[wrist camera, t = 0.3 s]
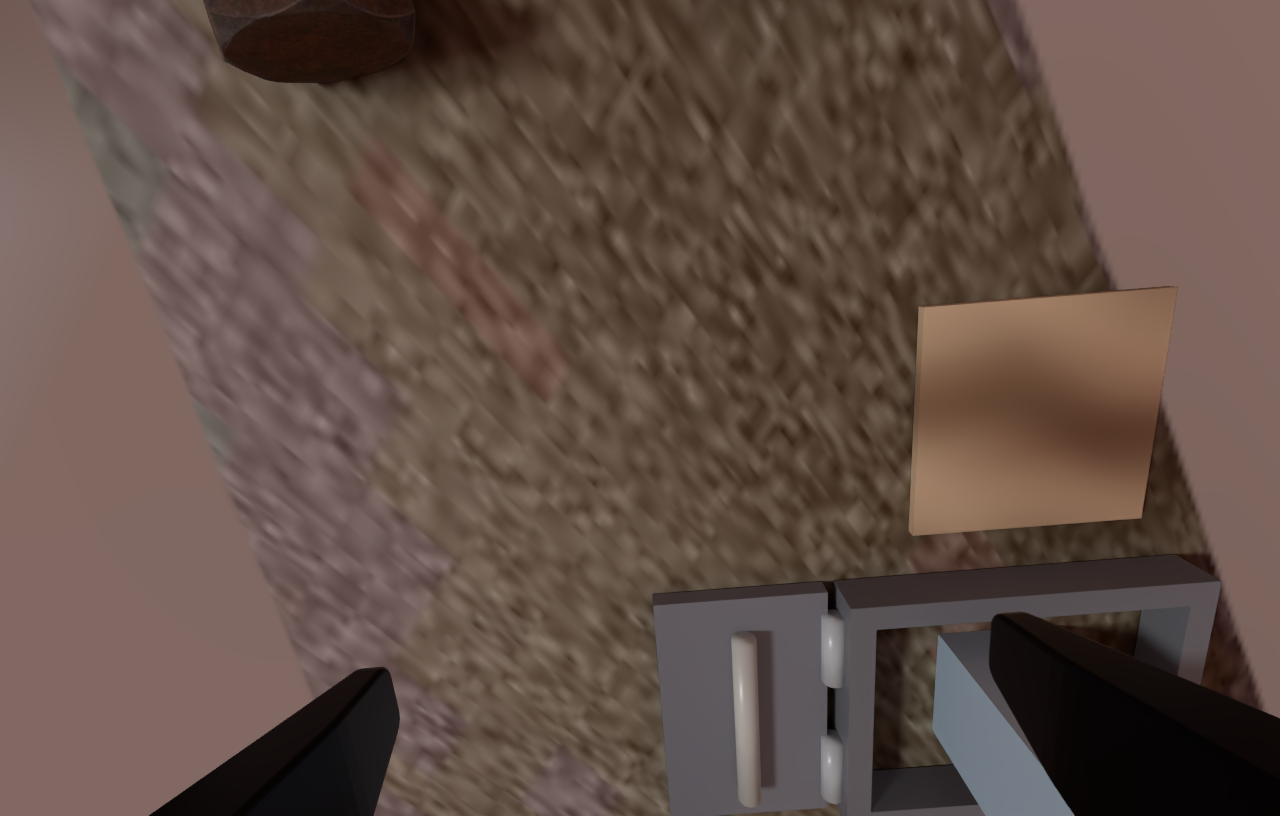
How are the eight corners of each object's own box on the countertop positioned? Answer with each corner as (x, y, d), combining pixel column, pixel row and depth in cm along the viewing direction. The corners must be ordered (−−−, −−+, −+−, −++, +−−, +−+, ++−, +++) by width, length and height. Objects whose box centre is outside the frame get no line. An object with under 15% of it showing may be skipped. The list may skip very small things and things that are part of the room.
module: (1044, 721, 27) (1224, 930, 18) (932, 729, 27) (1063, 941, 19) (1056, 624, 25) (1255, 804, 17) (938, 634, 25) (1082, 816, 17)
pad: (1132, 513, 24) (1141, 518, 23) (908, 530, 24) (913, 535, 24) (1168, 286, 21) (1178, 287, 21) (919, 306, 22) (924, 307, 21)
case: (1136, 768, 27) (1175, 808, 25) (670, 802, 27) (672, 844, 26) (1175, 554, 24) (1222, 581, 22) (652, 594, 25) (654, 624, 23)
